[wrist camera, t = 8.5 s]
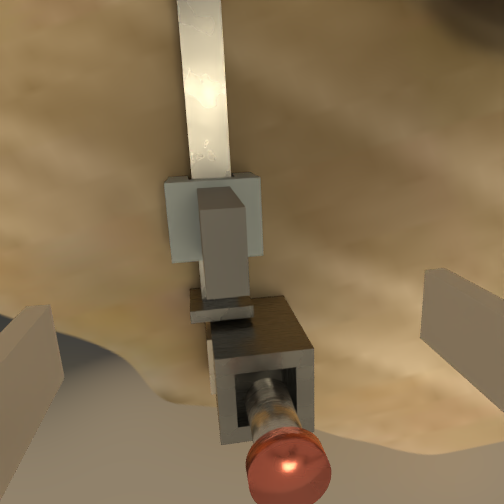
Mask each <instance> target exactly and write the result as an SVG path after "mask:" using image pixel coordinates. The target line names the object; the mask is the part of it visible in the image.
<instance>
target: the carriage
mask: <svg viewBox="0 0 504 504" xmlns="http://www.w3.org/2000/svg"><path fill="white" fill-rule="evenodd" d="M231 174H232V177H225V178H208V179H192V180H188V176H176V177H168V179H167V181H165V182H164V190H165V199H166V209H167V219H168V228H169V238H170V248H171V257H172V263H182V262H193V261H203V267H204V276H205V285H206V295H207V300H208V299H218V298H228V297H239V296H249V295H250V286H249V266H248V257H252V256H263V231H262V205H261V179H260V177H259V176H256V175H254V174H253V173H251V172H243V173H231Z"/></svg>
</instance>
